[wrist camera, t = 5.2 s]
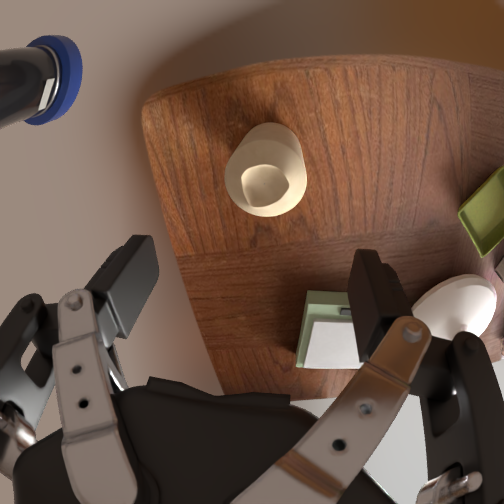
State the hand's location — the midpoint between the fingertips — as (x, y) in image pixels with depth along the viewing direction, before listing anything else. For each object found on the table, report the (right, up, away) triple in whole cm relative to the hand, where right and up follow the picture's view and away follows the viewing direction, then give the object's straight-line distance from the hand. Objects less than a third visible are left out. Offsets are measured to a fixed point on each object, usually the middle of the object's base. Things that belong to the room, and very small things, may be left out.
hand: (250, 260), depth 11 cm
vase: (+28, -8, +23) cm, 37 cm away
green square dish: (+28, +6, +15) cm, 32 cm away
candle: (+2, +10, +15) cm, 18 cm away
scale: (+13, -10, +27) cm, 31 cm away
